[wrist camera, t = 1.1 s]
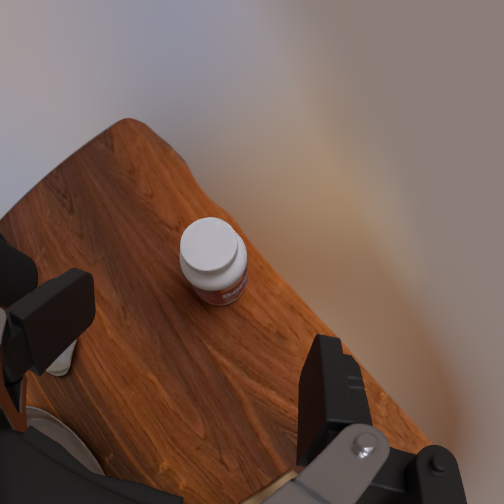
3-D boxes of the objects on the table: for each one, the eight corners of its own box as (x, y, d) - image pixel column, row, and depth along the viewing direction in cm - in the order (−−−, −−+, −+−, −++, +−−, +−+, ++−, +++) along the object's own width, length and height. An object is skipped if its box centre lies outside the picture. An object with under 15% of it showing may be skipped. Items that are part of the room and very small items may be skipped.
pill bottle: (232, 315, 33) (224, 294, 22) (184, 291, 33) (156, 260, 23) (256, 267, 35) (259, 226, 24) (209, 246, 35) (194, 198, 25)
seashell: (42, 334, 32) (54, 386, 28) (26, 328, 30) (36, 382, 26) (75, 305, 33) (90, 359, 29) (59, 297, 30) (72, 354, 26)
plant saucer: (-4, 399, 26) (-18, 400, 23) (100, 406, 28) (87, 409, 25) (32, 516, 19) (21, 522, 16) (145, 541, 21) (137, 552, 18)
